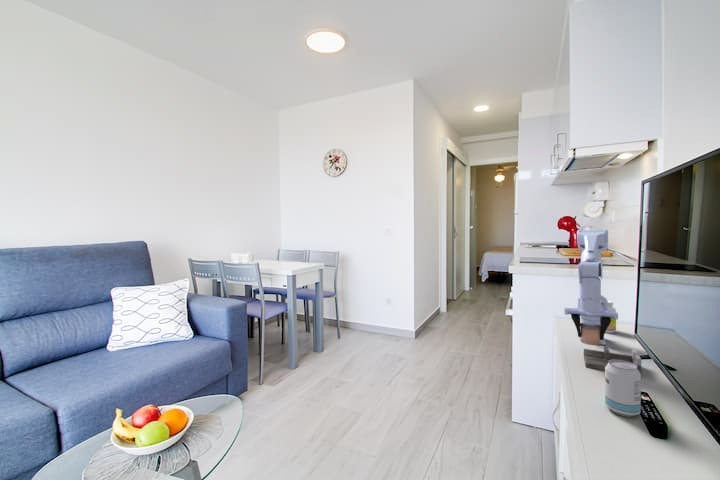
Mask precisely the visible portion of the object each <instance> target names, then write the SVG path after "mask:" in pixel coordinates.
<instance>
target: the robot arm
mask: <svg viewBox="0 0 720 480" xmlns="http://www.w3.org/2000/svg"><path fill="white" fill-rule="evenodd" d="M576 243H577V248H578V250H579V251H582V252H581V253H580V262H578V265H577V276H578V283H579V296H578V297H577V302H576V303H577V306H576V307H564V315H566V316H567V315H570V316H571V317H570V318H571V319H572V321H573V323H574V326H575V328H576V331H577V337H578V338H579V339H580V340H581V327H580V323H584V322H587V323H595V324H598V325H600V326H601V329H600V345H603V346H607V342H606V340H605V334H606V329H607V328H608V326H609V325H610V323H611V318H613V319H616V321H617V320H619V313H618V312H617V311H616V312H610V311H608V299H607V298H606V297H605V296H604V295H602V289H601V288H602V279H603V263H602V253H603V252H605V251H607V249H608V245H609V230H608V229H607V228H605V229H578V230H577V231H576ZM601 302H602V303H601Z"/></svg>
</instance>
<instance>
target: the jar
mask: <svg viewBox="0 0 720 480" xmlns="http://www.w3.org/2000/svg"><path fill="white" fill-rule="evenodd" d="M600 329H601V326H600V325H598V324H595V323H587V322H584V323H581V322H580V332H581V339H580V342H581V343H582V344H585V345H589V346H600V345H601V344H600Z"/></svg>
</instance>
